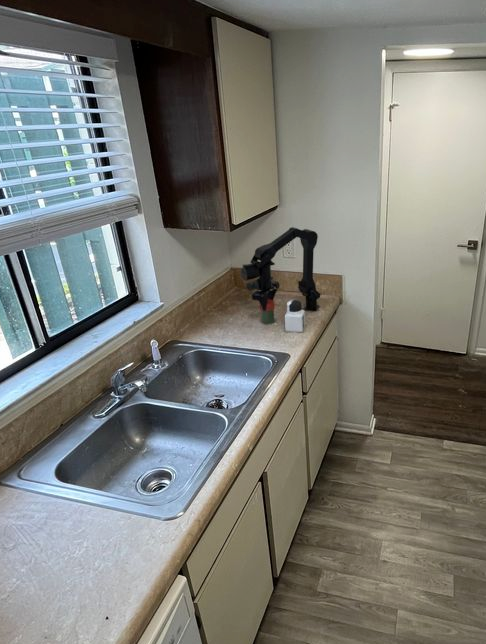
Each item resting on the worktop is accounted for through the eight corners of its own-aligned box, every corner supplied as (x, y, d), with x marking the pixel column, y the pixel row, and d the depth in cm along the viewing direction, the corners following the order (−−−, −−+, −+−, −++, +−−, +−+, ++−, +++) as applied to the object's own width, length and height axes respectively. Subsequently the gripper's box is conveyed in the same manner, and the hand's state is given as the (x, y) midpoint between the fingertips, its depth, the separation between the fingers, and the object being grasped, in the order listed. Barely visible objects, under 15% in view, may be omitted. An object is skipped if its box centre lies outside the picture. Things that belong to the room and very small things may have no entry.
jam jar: (265, 318, 208) (263, 299, 204) (276, 319, 207) (275, 301, 203) (260, 323, 203) (258, 304, 199) (271, 324, 202) (270, 305, 198)
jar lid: (263, 305, 206) (263, 298, 205) (276, 306, 205) (276, 299, 203) (257, 310, 200) (257, 303, 199) (271, 311, 199) (270, 305, 197)
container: (305, 325, 201) (304, 298, 196) (302, 332, 194) (301, 305, 189) (288, 324, 202) (287, 298, 197) (285, 331, 195) (283, 304, 190)
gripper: (256, 268, 206) (259, 298, 212) (239, 281, 189) (242, 313, 196) (278, 269, 204) (280, 300, 210) (262, 283, 187) (265, 316, 193)
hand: (267, 307), depth 202 cm, fingers closed on jar lid, 6 cm apart
